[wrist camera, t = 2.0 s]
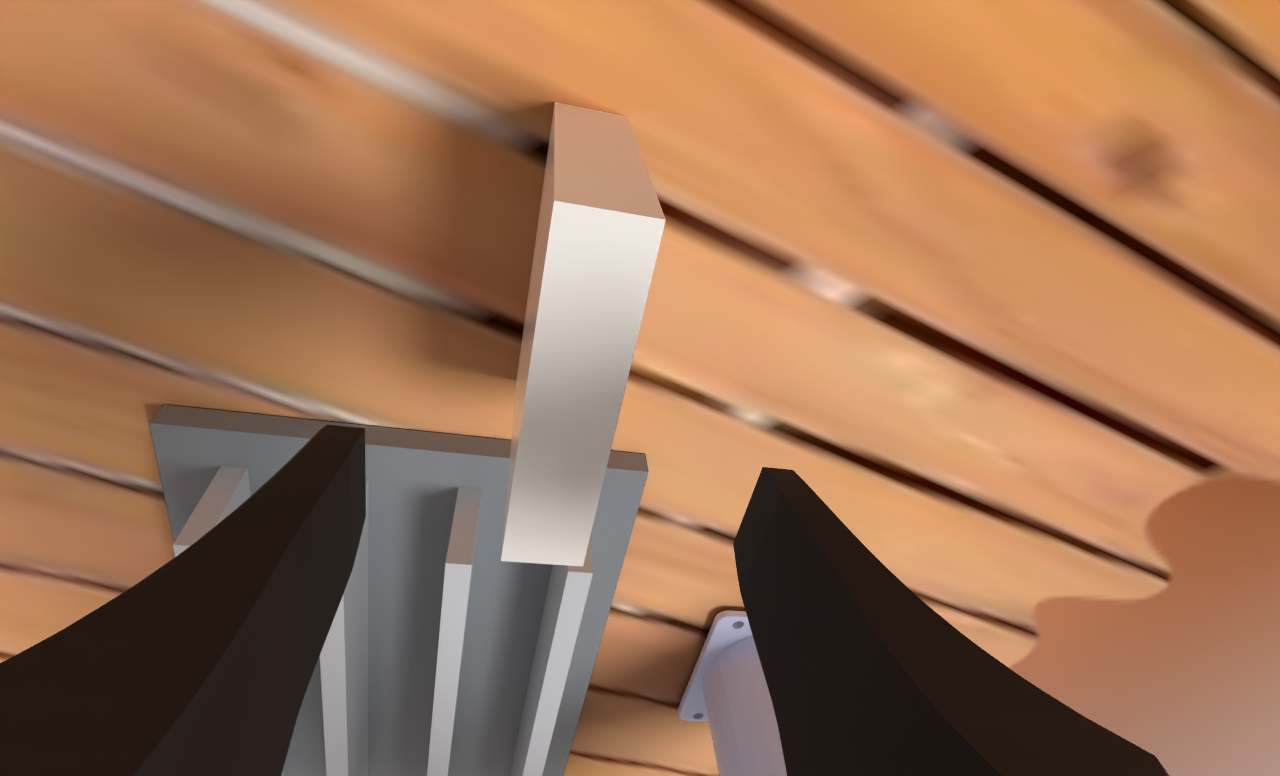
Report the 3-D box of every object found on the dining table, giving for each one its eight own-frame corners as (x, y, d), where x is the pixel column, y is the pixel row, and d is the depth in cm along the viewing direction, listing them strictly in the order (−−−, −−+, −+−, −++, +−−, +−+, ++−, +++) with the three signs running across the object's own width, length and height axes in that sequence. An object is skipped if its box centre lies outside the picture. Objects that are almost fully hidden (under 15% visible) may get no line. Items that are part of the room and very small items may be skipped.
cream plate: (627, 116, 19) (665, 220, 12) (575, 387, 24) (582, 566, 17) (554, 101, 19) (553, 200, 12) (516, 379, 23) (501, 560, 17)
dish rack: (645, 454, 26) (660, 544, 22) (558, 772, 37) (558, 867, 34) (164, 404, 22) (86, 500, 19) (233, 769, 34) (193, 873, 30)
